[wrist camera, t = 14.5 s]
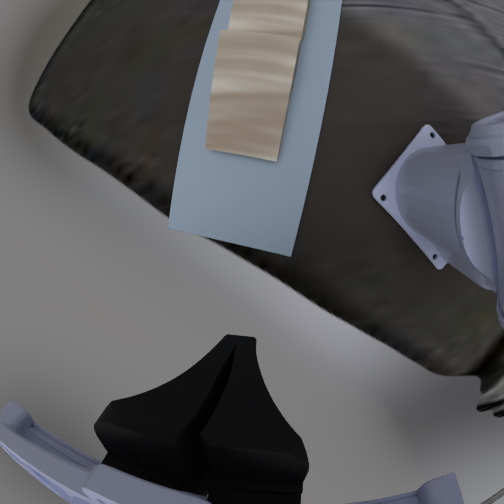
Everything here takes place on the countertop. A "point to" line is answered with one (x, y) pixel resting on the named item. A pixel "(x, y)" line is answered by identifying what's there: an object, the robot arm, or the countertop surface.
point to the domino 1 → (270, 18)
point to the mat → (251, 168)
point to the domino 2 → (251, 93)
